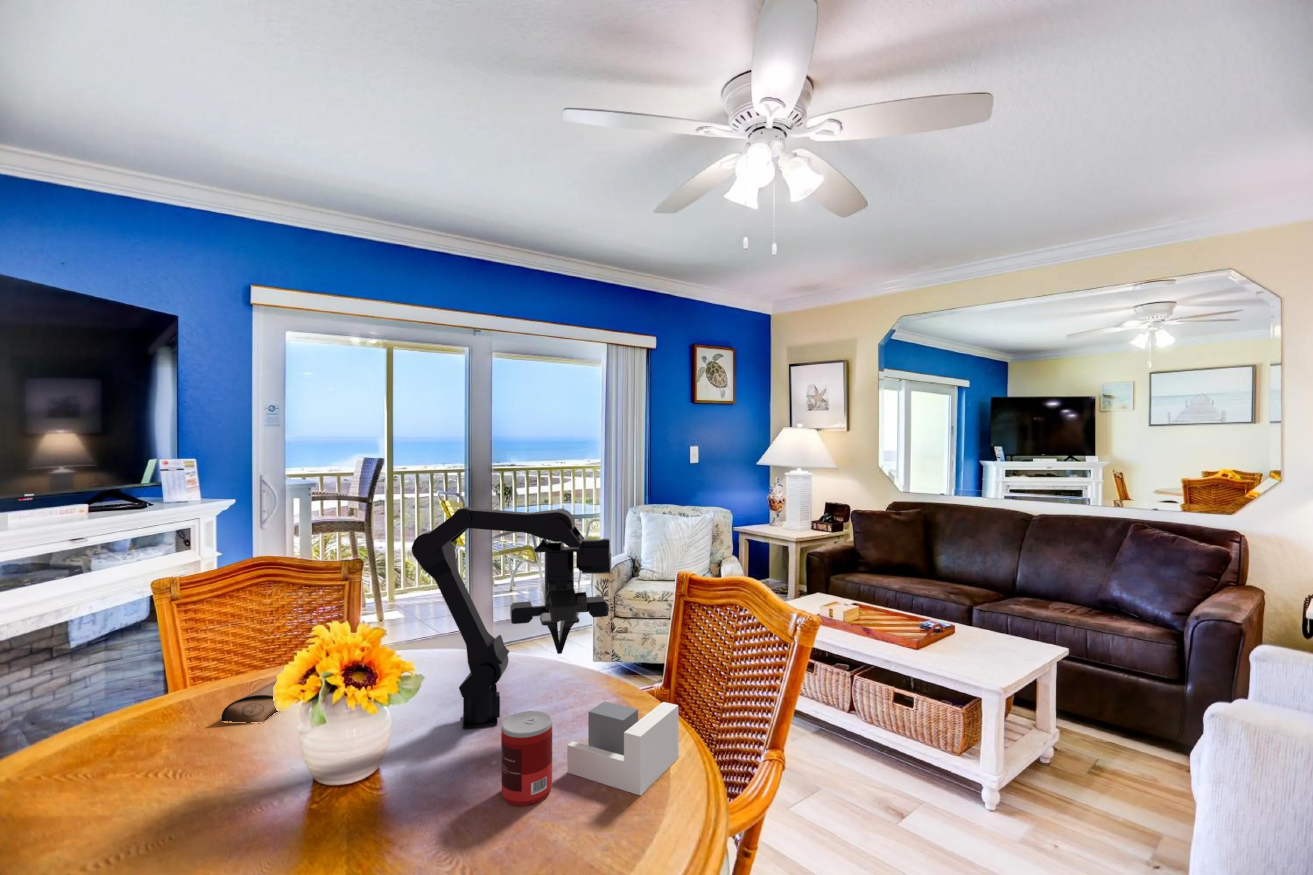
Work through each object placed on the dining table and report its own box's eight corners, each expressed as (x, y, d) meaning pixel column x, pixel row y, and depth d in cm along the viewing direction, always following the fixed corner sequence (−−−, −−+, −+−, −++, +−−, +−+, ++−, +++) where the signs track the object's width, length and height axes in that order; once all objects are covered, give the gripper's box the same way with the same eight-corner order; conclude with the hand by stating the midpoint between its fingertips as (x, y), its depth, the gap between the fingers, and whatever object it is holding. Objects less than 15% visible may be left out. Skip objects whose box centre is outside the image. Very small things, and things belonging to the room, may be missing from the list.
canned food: (557, 779, 98) (557, 711, 98) (543, 808, 90) (543, 734, 90) (511, 777, 99) (511, 709, 99) (493, 806, 91) (493, 732, 91)
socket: (567, 772, 100) (567, 717, 100) (610, 739, 112) (610, 689, 112) (640, 795, 94) (640, 736, 94) (678, 757, 105) (678, 705, 105)
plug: (588, 761, 103) (588, 711, 103) (604, 749, 107) (604, 701, 108) (636, 776, 99) (636, 723, 99) (651, 762, 103) (650, 712, 103)
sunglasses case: (261, 724, 118) (245, 694, 118) (232, 742, 118) (215, 712, 119) (319, 687, 136) (305, 661, 136) (294, 703, 136) (279, 677, 137)
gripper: (513, 586, 110) (513, 672, 110) (614, 579, 115) (614, 662, 115) (510, 573, 121) (510, 652, 120) (602, 568, 126) (602, 643, 126)
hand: (559, 653), depth 120 cm, fingers closed
